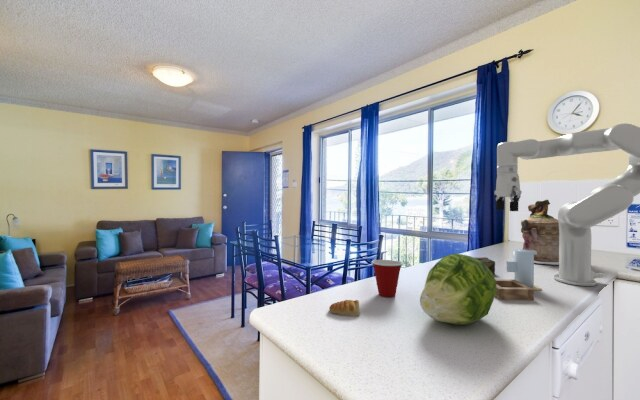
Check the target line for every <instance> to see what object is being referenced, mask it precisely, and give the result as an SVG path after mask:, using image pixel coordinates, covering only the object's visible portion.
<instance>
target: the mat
mask: <svg viewBox="0 0 640 400" xmlns="http://www.w3.org/2000/svg"><path fill="white" fill-rule="evenodd" d="M531 288H532V289H534V291H543V288H542V287H539V286H537V285H535V284H534V287H531Z"/></svg>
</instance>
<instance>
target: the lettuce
mask: <svg viewBox="0 0 640 400" xmlns="http://www.w3.org/2000/svg"><path fill="white" fill-rule="evenodd" d="M474 257H475V256H471V255H466V254H462V253H452V254H449V255H444V256H443V257H442V258H441V259H439V260H438V261H437V262H436V263H435V264H434V265H433V266H432V267H431V268H430V269H429V271H428V274H427V276H426V280H425V284H424V287H423V289H422V291H421V294H420V297H419V305H420V307H421V309H422V311H423V312H424V313H425V315H427V316H428V317H430V318H431V319H434V320H436V321H438V322H443V323H448V324H450V325H469V324H472V323H474V322H476V321H479V320H481V319H483V318H484V317H486V316H488V314H489V312H490V310H491V307H492V306H493V305H492V304H493V302H494V300H495V298H496V297H495V294H496V292H497V286H496V280H495V279H496V278H495V277H494V274H492V272H491V271H490V270H489V268H488V267H487V266H486V265H485V264H484V263H483V262H481V261H479V260H478V259H476V258H477V257H476V258H474Z"/></svg>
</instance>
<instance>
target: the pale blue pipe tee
mask: <svg viewBox="0 0 640 400" xmlns="http://www.w3.org/2000/svg"><path fill="white" fill-rule="evenodd" d="M513 252H514V253H513V256H514V257H513V259H514V260H506V272H507V273H514V275H513V276H514V279H513V280H516V281H518V282H520V283H522V284H524V285H526V286H528V287H530V288H531V287H534V285H535V263H534V255H537V251H534V250H525V249H523V248H522V249H521V248H520V249H519V248H516V249H514V250H513Z"/></svg>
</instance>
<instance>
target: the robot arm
mask: <svg viewBox="0 0 640 400" xmlns="http://www.w3.org/2000/svg"><path fill="white" fill-rule="evenodd" d="M617 150H622V151H624V152H626V153H627V154H629V155H628V167H627V169H626V170H624V172H623V173H622V174H619V175H618V176H616V177H615V178H612V179H611V180H609V181H607V182H605V183H603V184H602V185H600V186H598V187H596V188H594V189H593V190H591V192H590V193H589V194H588V196H586V198H583V199H582V200H580V201H569V202H567V203H565V204H563V205H562V206H560V208H559V210H558V213H557V220H558V223H559V265H558V273H557V274H554V275H553V279H554V280H555V281H558V282H560V283H562V284H568V285H573V286H580V287H592V286H596V285H597V283H598V282H597V280H595V279H604V278H605V276H606V275H605V274H604V273H603V272H595V271H593V270H592V229H591V228H592V227H594V226H597V225H598V224H601V223H602V222H604V221H607V220H608V219H610V218H613V217H615V216H616V215H618V214H620V213H622V212H624V211H625V210H627V209H629V207H631V205H632V204H633V202H634V197H636V196H638V195H640V127H639V126H637V125H635V124H632V123H631V124H630V123H619V124H615V125H613V126H611V127H607V128H599V129H593V130H587V131H578V132H572V133H567V134H564V135H562V136H559V137H556V138H551V139H547V140H546V139H545V140H540V141H539V140H537V139H533V138H529V139H524V140H523V139H522V140H519V141H504V142H500V143H498V144H497V146H496V182H495V190H494V191H493V192H494V198H495V201H496V202H495V210H498V211H501V210H502V211H503V210H505V201H504V199H505V198H509V200H510V201H509V212H519V202H520V198H521V195H522V190H521V184H520V183H521V181H520V176H519V171H518V166H519V165H518V163H519V161H518V160H519V159H518V158H520V159H522V160H525V161H527V160H537V159H538V160H539V159H545V158H546V159H547V158H555V157H563V156H564V157H565V156H566V157H568V156H573V155H581V154H590V153H591V154H592V153H603V152H612V151H617Z"/></svg>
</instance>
